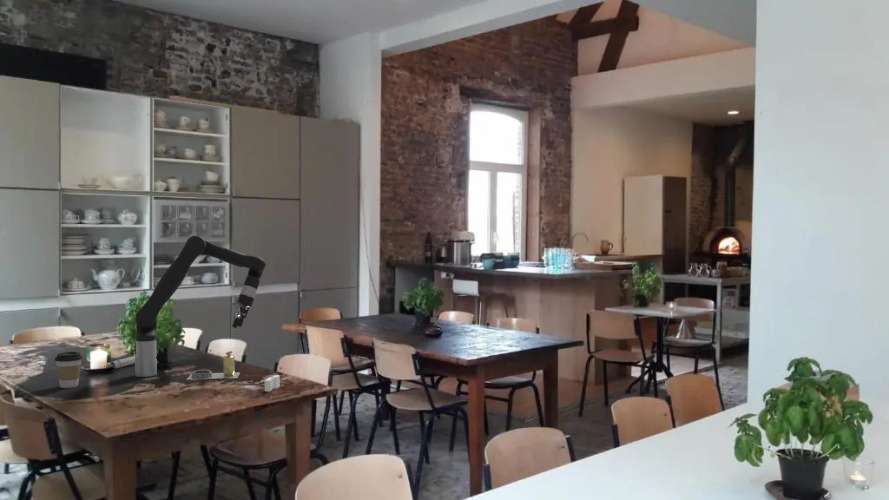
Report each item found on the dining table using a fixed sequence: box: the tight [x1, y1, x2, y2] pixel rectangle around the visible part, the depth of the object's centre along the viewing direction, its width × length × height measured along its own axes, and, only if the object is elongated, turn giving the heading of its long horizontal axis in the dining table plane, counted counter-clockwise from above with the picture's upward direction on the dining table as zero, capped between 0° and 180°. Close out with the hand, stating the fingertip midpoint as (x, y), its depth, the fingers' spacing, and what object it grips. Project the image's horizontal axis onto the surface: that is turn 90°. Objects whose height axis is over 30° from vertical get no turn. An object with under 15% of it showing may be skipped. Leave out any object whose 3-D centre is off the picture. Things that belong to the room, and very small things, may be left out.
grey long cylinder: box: [109, 355, 135, 370], centre depth 380 cm, size 5×7×25 cm
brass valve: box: [223, 350, 236, 376], centre depth 348 cm, size 5×5×11 cm
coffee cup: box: [54, 351, 83, 389], centre depth 329 cm, size 11×11×15 cm
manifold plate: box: [186, 369, 241, 380], centre depth 347 cm, size 23×13×4 cm, turn 100°
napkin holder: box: [264, 374, 281, 392], centre depth 328 cm, size 15×11×6 cm
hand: (236, 326), depth 357 cm, fingers open, 8 cm apart
